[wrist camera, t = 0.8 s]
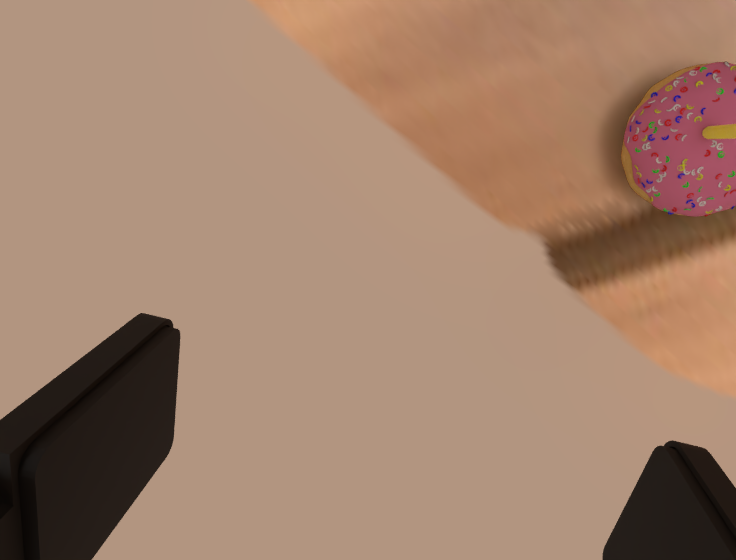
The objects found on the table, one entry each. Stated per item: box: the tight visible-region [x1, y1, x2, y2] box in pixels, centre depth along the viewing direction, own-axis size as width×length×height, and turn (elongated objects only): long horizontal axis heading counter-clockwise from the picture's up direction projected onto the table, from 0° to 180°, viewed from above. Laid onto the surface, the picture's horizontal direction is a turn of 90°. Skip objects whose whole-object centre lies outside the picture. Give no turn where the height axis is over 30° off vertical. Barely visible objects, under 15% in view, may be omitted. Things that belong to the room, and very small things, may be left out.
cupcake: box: [621, 62, 736, 216], centre depth 28 cm, size 9×8×12 cm
